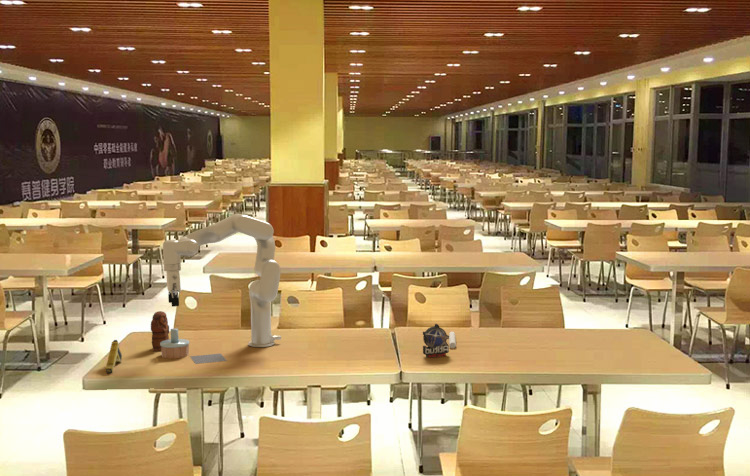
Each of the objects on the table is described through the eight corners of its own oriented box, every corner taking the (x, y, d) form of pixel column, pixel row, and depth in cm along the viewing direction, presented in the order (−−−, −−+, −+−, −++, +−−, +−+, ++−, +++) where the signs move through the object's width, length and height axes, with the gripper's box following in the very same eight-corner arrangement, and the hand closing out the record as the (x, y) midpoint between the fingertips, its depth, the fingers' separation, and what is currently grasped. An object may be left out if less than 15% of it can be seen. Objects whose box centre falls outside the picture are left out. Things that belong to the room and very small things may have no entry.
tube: (449, 336, 418) (449, 348, 393) (449, 330, 417) (449, 342, 392) (455, 337, 417) (455, 349, 393) (455, 331, 417) (455, 342, 392)
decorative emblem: (446, 354, 381) (446, 322, 379) (448, 355, 379) (448, 323, 377) (422, 356, 377) (422, 324, 376) (424, 358, 375) (424, 325, 373)
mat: (220, 354, 384) (220, 353, 384) (226, 361, 371) (226, 360, 371) (190, 357, 379) (190, 356, 379) (195, 364, 366) (195, 363, 366)
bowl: (186, 351, 389) (185, 340, 388) (190, 357, 378) (190, 345, 377) (160, 354, 384) (159, 342, 384) (163, 360, 373) (163, 348, 373)
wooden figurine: (163, 351, 389) (162, 314, 387) (150, 351, 390) (149, 313, 388) (172, 345, 401) (170, 309, 399) (159, 345, 401) (157, 308, 399)
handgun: (122, 356, 373) (118, 336, 365) (115, 387, 358) (111, 368, 350) (116, 356, 372) (112, 337, 365) (109, 388, 357) (105, 368, 350)
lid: (186, 339, 389) (186, 325, 388) (191, 346, 377) (191, 330, 376) (158, 342, 384) (158, 327, 383) (162, 348, 372) (161, 333, 371)
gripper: (183, 269, 370) (185, 307, 372) (177, 264, 386) (179, 300, 388) (166, 270, 367) (168, 308, 369) (161, 265, 383) (162, 301, 385)
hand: (173, 304), depth 378 cm, fingers open, 9 cm apart
